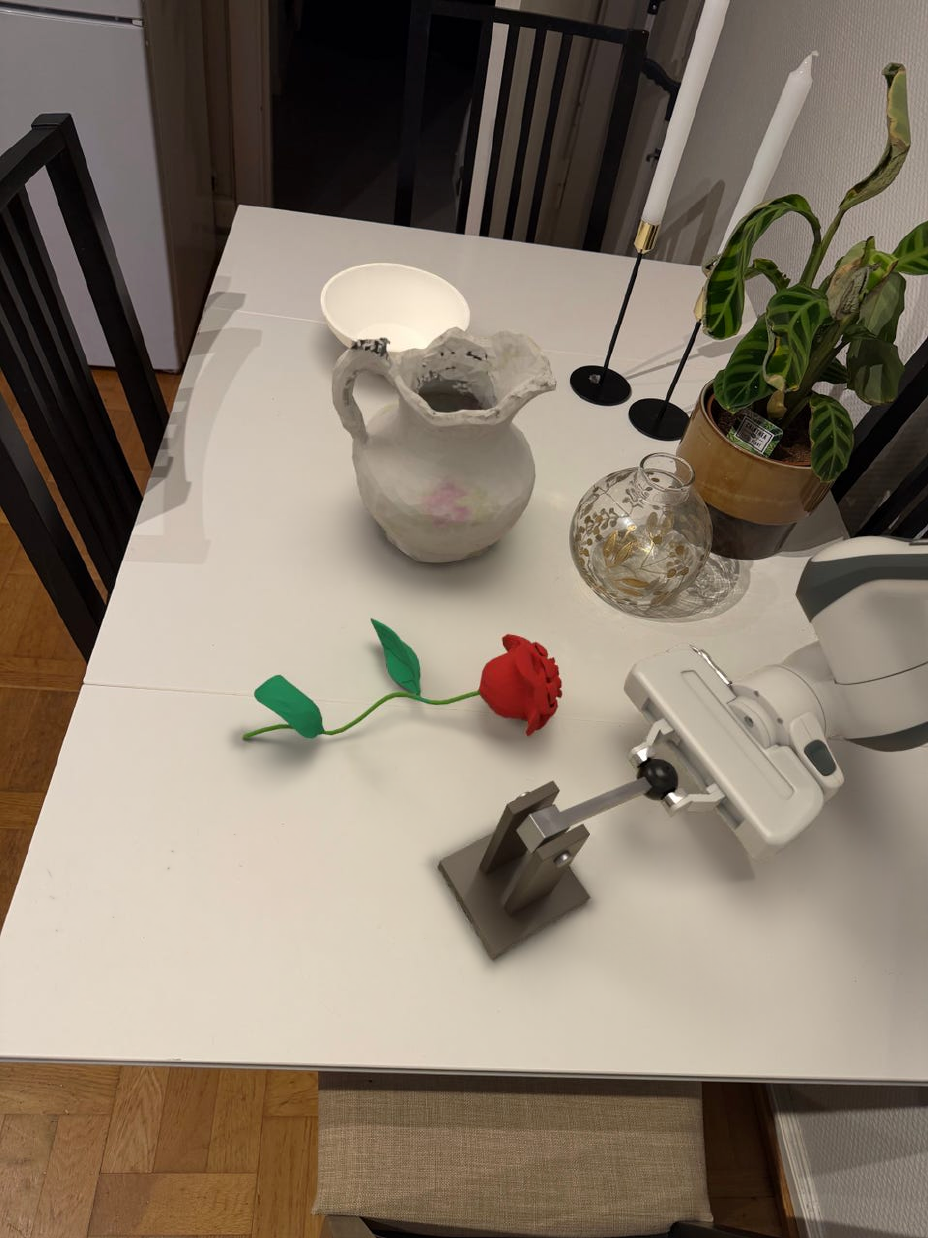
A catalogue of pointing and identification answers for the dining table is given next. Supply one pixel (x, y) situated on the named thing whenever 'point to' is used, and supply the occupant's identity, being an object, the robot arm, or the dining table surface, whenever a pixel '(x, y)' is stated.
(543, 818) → the lever
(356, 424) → the ceramic pitcher
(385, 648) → the decorative flower
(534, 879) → the bracket
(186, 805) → the dining table surface
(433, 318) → the bowl
